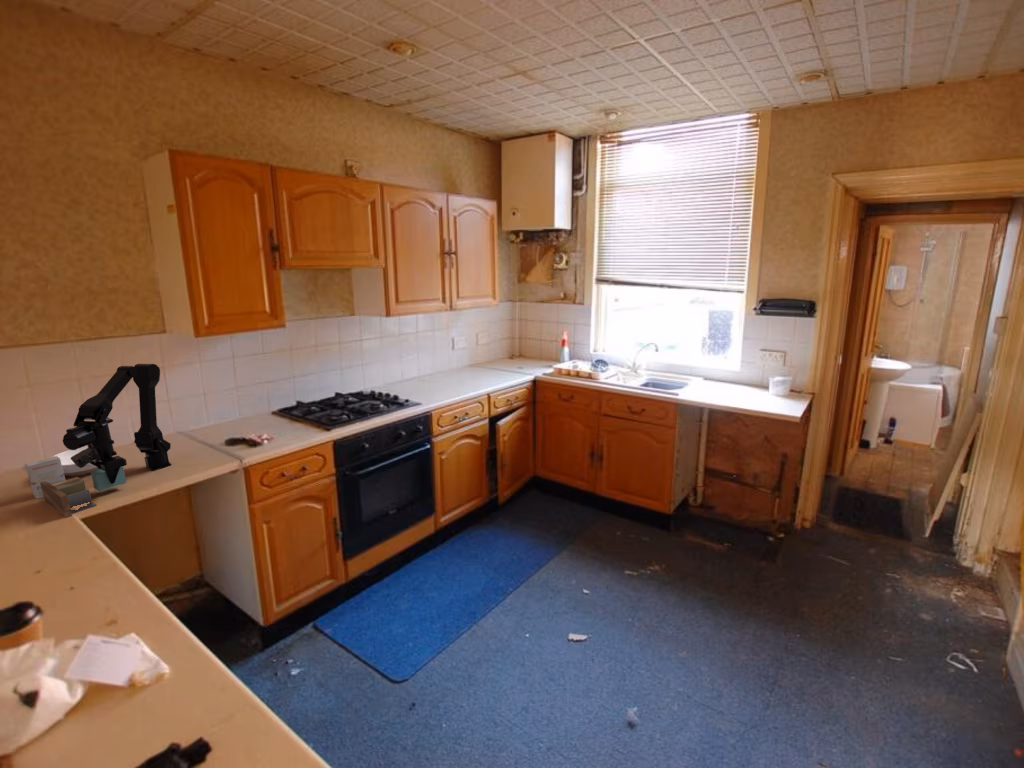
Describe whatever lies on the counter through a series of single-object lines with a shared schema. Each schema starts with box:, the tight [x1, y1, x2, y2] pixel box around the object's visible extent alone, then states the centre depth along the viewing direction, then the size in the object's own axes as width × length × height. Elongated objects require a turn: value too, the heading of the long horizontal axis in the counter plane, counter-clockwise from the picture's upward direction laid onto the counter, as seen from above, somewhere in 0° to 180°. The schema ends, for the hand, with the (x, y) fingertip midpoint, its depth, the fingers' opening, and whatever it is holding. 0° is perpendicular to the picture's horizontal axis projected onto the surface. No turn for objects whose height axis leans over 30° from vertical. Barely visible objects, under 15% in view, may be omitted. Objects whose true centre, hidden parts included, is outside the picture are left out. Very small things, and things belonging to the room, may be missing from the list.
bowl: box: [51, 445, 99, 477], centre depth 201 cm, size 20×20×6 cm
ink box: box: [24, 455, 66, 500], centre depth 182 cm, size 8×5×12 cm, turn 141°
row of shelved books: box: [51, 476, 87, 496], centre depth 178 cm, size 8×6×6 cm
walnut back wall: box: [40, 481, 73, 518], centre depth 171 cm, size 2×19×7 cm, turn 55°
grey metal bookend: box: [67, 488, 97, 515], centre depth 172 cm, size 7×5×4 cm, turn 145°
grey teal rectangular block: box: [90, 466, 127, 492], centre depth 182 cm, size 8×4×6 cm, turn 145°
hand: (110, 481), depth 183 cm, fingers closed on grey teal rectangular block, 4 cm apart
